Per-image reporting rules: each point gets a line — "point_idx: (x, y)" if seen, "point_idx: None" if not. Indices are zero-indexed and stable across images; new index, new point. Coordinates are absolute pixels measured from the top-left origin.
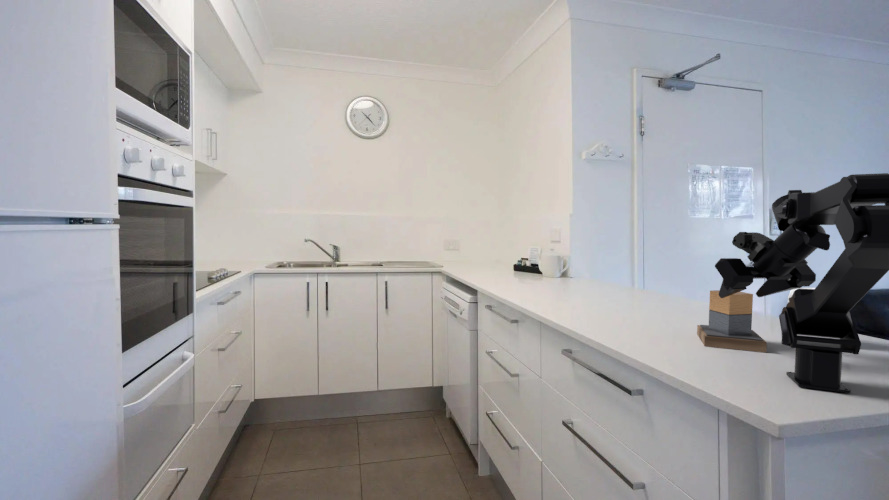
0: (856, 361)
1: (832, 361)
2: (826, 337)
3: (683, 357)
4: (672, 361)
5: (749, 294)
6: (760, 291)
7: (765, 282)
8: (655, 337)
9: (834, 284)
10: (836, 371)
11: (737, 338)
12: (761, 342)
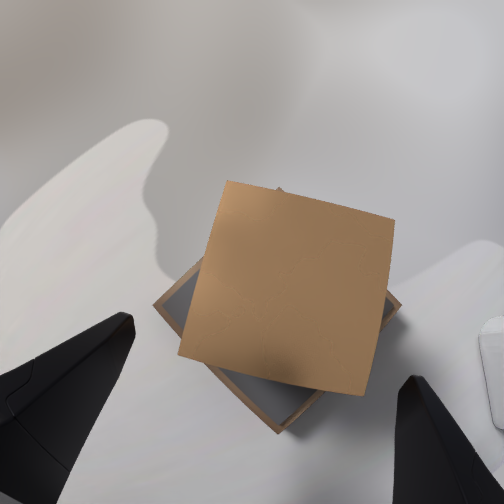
0: None
1: None
2: (499, 408)
3: (41, 344)
4: (10, 348)
5: (337, 391)
6: (410, 414)
7: (444, 462)
8: (126, 188)
9: None
10: None
11: (224, 373)
12: (267, 424)
